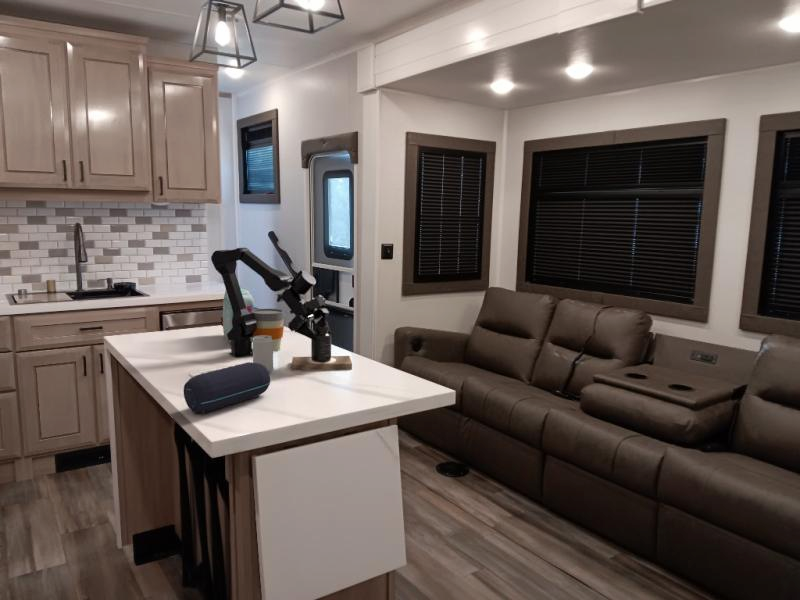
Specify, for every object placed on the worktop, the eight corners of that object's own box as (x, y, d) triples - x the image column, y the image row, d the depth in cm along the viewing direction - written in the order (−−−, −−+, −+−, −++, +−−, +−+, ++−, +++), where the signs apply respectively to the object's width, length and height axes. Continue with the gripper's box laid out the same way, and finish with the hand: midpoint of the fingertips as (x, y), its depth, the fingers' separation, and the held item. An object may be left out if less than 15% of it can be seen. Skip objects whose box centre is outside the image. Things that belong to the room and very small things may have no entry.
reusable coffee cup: (288, 346, 229) (288, 309, 227) (279, 354, 216) (278, 314, 214) (257, 345, 230) (257, 307, 228) (246, 352, 218) (245, 313, 215)
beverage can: (268, 375, 188) (267, 339, 186) (249, 374, 189) (249, 337, 188) (276, 370, 194) (276, 335, 192) (258, 369, 195) (257, 334, 194)
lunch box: (220, 334, 249) (219, 284, 246) (244, 332, 254) (243, 283, 250) (230, 347, 225) (229, 292, 222) (257, 345, 230) (256, 291, 227)
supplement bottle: (307, 359, 201) (307, 325, 200) (323, 356, 206) (323, 323, 204) (318, 363, 196) (318, 328, 195) (335, 360, 201) (335, 326, 199)
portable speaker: (250, 389, 173) (250, 357, 172) (274, 396, 167) (274, 362, 166) (176, 412, 152) (175, 375, 151) (200, 420, 147) (199, 382, 145)
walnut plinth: (292, 370, 194) (292, 364, 194) (292, 362, 205) (292, 356, 205) (351, 369, 198) (352, 363, 197) (349, 361, 208) (349, 355, 208)
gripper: (295, 291, 191) (325, 327, 188) (324, 285, 208) (351, 318, 205) (275, 313, 195) (304, 348, 192) (305, 305, 212) (331, 338, 209)
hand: (324, 337), depth 200 cm, fingers open, 9 cm apart
